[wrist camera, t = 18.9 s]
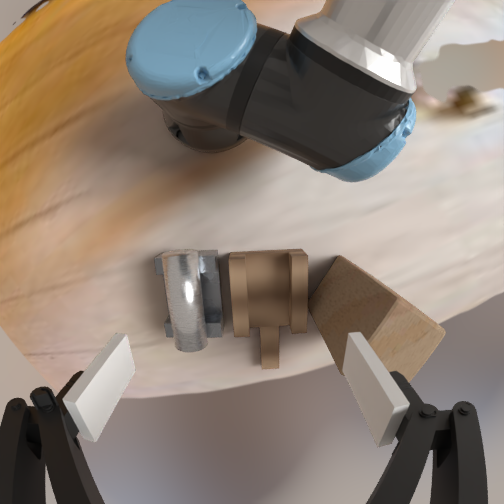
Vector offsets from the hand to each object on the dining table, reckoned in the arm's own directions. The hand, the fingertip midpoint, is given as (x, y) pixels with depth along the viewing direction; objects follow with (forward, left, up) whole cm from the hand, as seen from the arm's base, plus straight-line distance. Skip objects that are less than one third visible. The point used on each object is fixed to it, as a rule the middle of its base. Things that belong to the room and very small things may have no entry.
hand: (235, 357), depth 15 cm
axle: (+5, -9, -25) cm, 27 cm away
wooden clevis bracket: (+10, +4, -29) cm, 31 cm away
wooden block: (+8, +17, -29) cm, 34 cm away
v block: (+6, -8, -29) cm, 31 cm away
